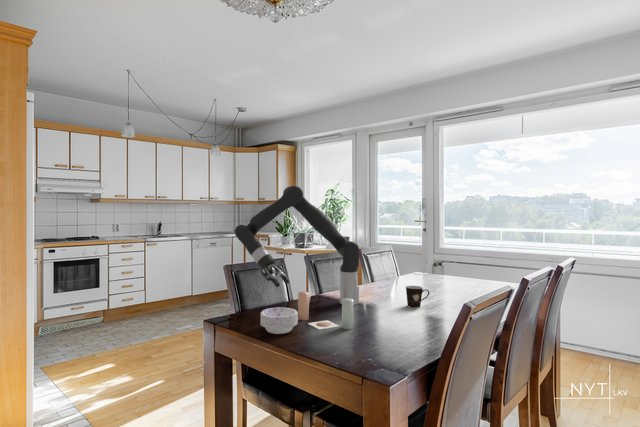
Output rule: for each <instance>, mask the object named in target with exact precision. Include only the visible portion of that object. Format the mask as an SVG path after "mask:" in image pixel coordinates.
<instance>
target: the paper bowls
mask: <svg viewBox="0 0 640 427" xmlns="http://www.w3.org/2000/svg"><path fill="white" fill-rule="evenodd" d="M298 321H299V319H298V310H296V309H294V308H291V307H290V308H289V307H283V306H282V307H279V306H278V307H277V306H276V307H271V308H270V307H269V308H266V309H263V310H262V311H261V312H260V325H261V327H262V328H265V330H266V332H268V333H270V334H273V335H283V334H288V333H290V332H291V331H292V330H293V328H294V327H295V326H297V325H298Z"/></svg>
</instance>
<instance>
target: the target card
mask: <svg viewBox="0 0 640 427" xmlns="http://www.w3.org/2000/svg"><path fill="white" fill-rule="evenodd" d="M307 325H309V326H311V327H313V328H315V329H317V330H318V331H319V330H320V331H321V330H327V329H333V328H339V327H340V325H338V324H336V323H334V322H332V321H330V320H329V319H328V320H320V321H314V322H307Z"/></svg>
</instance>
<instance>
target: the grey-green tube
mask: <svg viewBox="0 0 640 427" xmlns="http://www.w3.org/2000/svg"><path fill="white" fill-rule="evenodd" d="M341 329H343V330H347V331H348V330H353V329H354V305H353V299H351V298H344V299H342V304H341Z"/></svg>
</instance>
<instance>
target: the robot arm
mask: <svg viewBox="0 0 640 427" xmlns="http://www.w3.org/2000/svg"><path fill="white" fill-rule="evenodd" d="M290 208H293V209H295V210H296V211H297V212H298V213H300V215H301V216H302V217H303V218H304V219H305V221H306V222H307V223H308V224H309V225H310V226H311V227H312V228H313V229H314V230H315V231H316V232H317V233H318V234H320V235H321V236H322V237H323V238H324V239H325V240H326V241H328V242H329V243H330V244H331V245H332V246H333V247H334V249H335V250H336V251H337V253H338V254H339V255H340V256H341V257H342V264H341V265H340V268H339V270H340V271H339V276H340V277H339V304H341V305H342V299H344V298H351V299H353V306H356V305H357V304H358V305H359V304H360V303H359V302H360V286H359V285H358V269H359V266H360V254H361V252H360V247H359V245H358V243H357V242H355V241H351V240H348V239H347V238H346V237H344V236H343V235H342V234H341V233H340V232H339V230H338V229H337V228H336V225H335V223H334V222H333V221H332V220H331V219H330V218H329V216H327V215H326V213H324V212H323V211H322V210H320V209H319V208H318V207H316V206H315V205H313V204H312V203H310V202H309V201H308V200H307V199H306V198H305V196H304V191H303V189H302V187H299V186H296V185H289V186H287V187H285V188H284V190H283V192H282V196H281V197H279V199H277V200H276V201H275V202H273V203H271V204H270V205H269V206H267V207H265V208H263V209H261V210H260V211H259V212H258V213H257V214H255V215H253V216H252V217H251V218H250V220H249V223H248V224H246V225H245V224H238V225H237V226H236V227H235V229H234V235H235V237H236V238H237V240H239V241H240V242H241V244H242V245H243V246H244V247H245V249H246V251H247V252H248V254H249V255H250V256H251V257H252V259H253V261H254V262H255V263H256V264H257V265H258V267H259V268H260V270H261V271H260V272H261V273H262V274H263V276H264V278H265V279H266V280H267V281H268V282H269V281H270V282H272V284H273V285H274V286H275V287H276V288H279V287H280V286H281V283H280V281H278V279H277V278H281V280H282V281H283V282H284V284H285V285H288V284H289V283H290V282H291V281H290V280H289V279H288V277H287V276H286V275H287V274H288V273H287V271H286V270H285V269H284V268H283V267H282V266H281V265H280V264H278V265H276V264H275V262H276V261H275V259H274V257H273V256H272V255H271V254H270V252H269V251H268V250H267V249H266V248H265V247H264V246H263V245H262V243H261V242H260V241H259V240H258V239H257V238H256V235H257V234H258V232H260V230H261V229H263V228H265V226H266V225H268V224H269V223H270V222H272V221H273V220H275V218H276V217H278V216H279V215H280V214H282V213H284V212H285V211H286V210H288V209H290ZM276 277H277V278H276Z"/></svg>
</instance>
